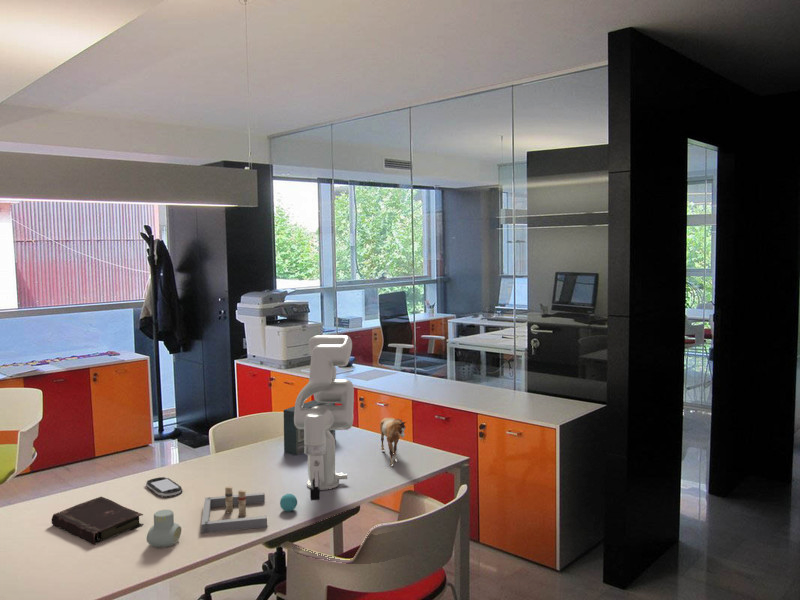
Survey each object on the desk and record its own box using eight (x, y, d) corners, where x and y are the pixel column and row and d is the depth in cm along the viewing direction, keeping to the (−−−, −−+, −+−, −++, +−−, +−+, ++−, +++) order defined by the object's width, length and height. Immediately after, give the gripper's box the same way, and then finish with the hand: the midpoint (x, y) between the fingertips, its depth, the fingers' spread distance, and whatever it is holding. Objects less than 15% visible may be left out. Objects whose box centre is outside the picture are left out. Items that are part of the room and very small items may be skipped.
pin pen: (264, 500, 238) (264, 492, 238) (267, 526, 216) (267, 518, 216) (205, 505, 233) (205, 497, 233) (201, 533, 211) (201, 524, 211)
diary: (93, 548, 202) (92, 533, 202) (51, 528, 216) (50, 514, 216) (146, 526, 218) (145, 511, 217) (104, 508, 232) (103, 495, 231)
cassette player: (296, 455, 289) (295, 412, 287) (284, 453, 292) (283, 409, 290) (335, 439, 313) (335, 398, 312) (324, 436, 317) (323, 396, 315)
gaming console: (143, 486, 253) (143, 480, 253) (165, 480, 259) (165, 474, 259) (162, 500, 239) (162, 494, 239) (185, 494, 245) (185, 488, 244)
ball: (296, 506, 233) (296, 490, 232) (298, 513, 227) (297, 496, 226) (279, 508, 231) (279, 491, 231) (280, 514, 225) (280, 498, 225)
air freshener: (158, 535, 209) (157, 505, 209) (183, 535, 209) (182, 506, 208) (144, 551, 199) (143, 520, 198) (170, 552, 198) (169, 520, 197)
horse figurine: (406, 469, 271) (406, 421, 270) (388, 470, 270) (388, 422, 268) (393, 446, 302) (393, 403, 300) (377, 447, 300) (377, 404, 299)
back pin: (232, 509, 230) (232, 486, 229) (232, 512, 228) (232, 488, 227) (225, 510, 229) (225, 486, 229) (225, 513, 227) (225, 489, 226)
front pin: (246, 513, 227) (245, 489, 226) (246, 516, 224) (245, 492, 223) (238, 514, 226) (238, 490, 225) (238, 516, 224) (238, 492, 223)
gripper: (328, 453, 223) (328, 505, 224) (322, 442, 237) (323, 491, 238) (306, 455, 221) (306, 507, 222) (302, 443, 235) (302, 493, 236)
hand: (315, 499), depth 230 cm, fingers closed
